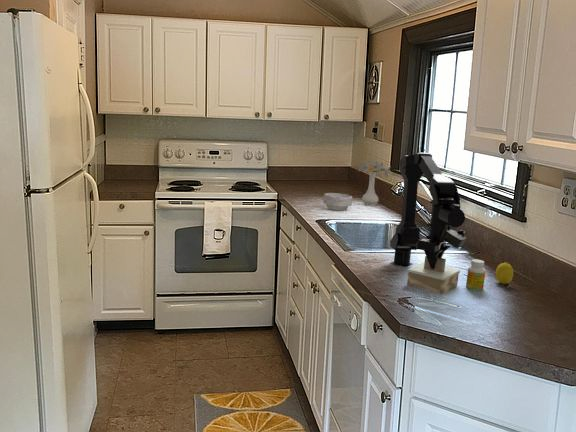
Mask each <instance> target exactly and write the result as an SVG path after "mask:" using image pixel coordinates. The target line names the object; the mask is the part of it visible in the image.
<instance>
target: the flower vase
mask: <svg viewBox="0 0 576 432" xmlns="http://www.w3.org/2000/svg"><path fill="white" fill-rule="evenodd" d="M383 166H384V162H380V163H379V162H378V161H374V162H372V163H371V161H370V160H368V161H366V160H363V161H362V165H360V166H358V171H357V172H360V171H362V170H363V171H364V173H365V174H369V175H368V176H369V177H368V178H369V183H368V188H367V190H366V192H365V194H363V195H362V198H361V201H362V203H364V204H363V205H365V206H367V207H375V206H376V204H378V202H379V197H378V195H377V194H376V190H375V182H376V181H375V179H376V176H377V173H378V174H380V175H381V174H382V175H384V176H385V177H386V179H388V178H389V174H391V172H392V171H391V170H390V169H391V167H392V165H390V166H388V168H385V167H383Z"/></svg>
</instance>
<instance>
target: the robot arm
mask: <svg viewBox="0 0 576 432" xmlns="http://www.w3.org/2000/svg"><path fill="white" fill-rule="evenodd" d="M398 163H399V172H400V175H401V177H402V179H403V192H402V204H401V205H402V206H401V217H400V218H401V220H400V222H398V225H397V226H396V227H395V231H394V232H395V233H394V235H393V236H392V237H391V239H390V240H389V246H390V248H391V249H392V250H394V256H393V261H391V262H389V264H390V265H394V266H399V267H403V268H408V267H410V266H412V265H414V263H412V262H411V254H412V250H413V251H417V250H421V251H423V252H424V254H425V256H426V257H427V259H428V262H429V265H430V268H431V269H434V268H435V265H436V261H437V257H439V258H443V256H444V253H445V252H446V251H447V250H448V249H451V248H452V247H453V248H454V249H459V248H462V247H463V245H464V243H465V242H466V241H467V233H466V231H465V230H463V229H460V230H458V231H457V230H454V229H452V228H460V227H461V226H462V225H463V224H464V223H465V220H466V214H465V212H464V211H463V210H462V209H461V202H460V201H461V197H460V195H459V191H458V187H457V185H456V183H455V181H453V180H452V179H451V178H450V177H447V176H446V175H444V174H443V173H442V171H441V170H440V168H439V167H438V164H437V163H436V162H435V161H434V158H433V155H432V153H429V152H416V153H414V154H409V155H403V157H402V158H400V160H399V162H398ZM423 175H424V177H425V178H426V180H427V182H428V183H429V187H428V192H429V194H430V196H431V200H430V201H429V203H430V204H431V215H430V220H429V222H427V227H429V231H428V234H427V235H425V236H426V237H425V238H422V239H420V232H421V231H420V230H421V229H420V227H418V225H417V224H416V213H417V212H416V211H417V200H418V187H419V181H420V180H421V178H422V177H423ZM448 244H449V245H448Z"/></svg>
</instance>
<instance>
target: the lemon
mask: <svg viewBox="0 0 576 432" xmlns="http://www.w3.org/2000/svg"><path fill="white" fill-rule="evenodd" d="M513 277H514V268H513V266H512V265H511V264H510V263H508V262H507V261H505V262H502V263H500V264H499V265H498V266H497V267H496V269H495V279H496V280H497V282H498V283H500V284H501V285H506V284H509V283H510V282H512V280H513Z"/></svg>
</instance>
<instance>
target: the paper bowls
mask: <svg viewBox="0 0 576 432" xmlns="http://www.w3.org/2000/svg"><path fill="white" fill-rule="evenodd" d="M323 204H324V205H325V206H326V208H327V209H328V210H330V211H334V212H345V211H347V209H348V208H349V207H351V206H352V204H353V196H352V195H349V194H346V193H345V194H344V193H338V192H337V193H336V192H326V193H324V194H323Z"/></svg>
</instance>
